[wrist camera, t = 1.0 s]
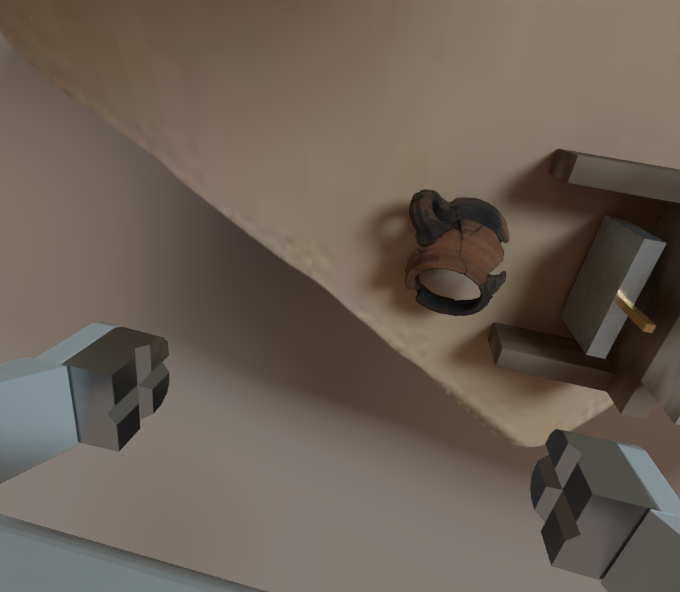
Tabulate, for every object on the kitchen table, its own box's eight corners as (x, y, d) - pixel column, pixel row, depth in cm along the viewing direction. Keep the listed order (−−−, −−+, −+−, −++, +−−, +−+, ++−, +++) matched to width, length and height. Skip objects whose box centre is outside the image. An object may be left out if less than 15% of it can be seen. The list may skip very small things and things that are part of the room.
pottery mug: (532, 243, 38) (522, 313, 34) (446, 268, 45) (429, 329, 41) (465, 144, 33) (443, 211, 29) (379, 189, 40) (351, 249, 36)
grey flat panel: (605, 215, 35) (675, 257, 25) (623, 218, 35) (701, 262, 25) (560, 315, 40) (605, 384, 30) (576, 318, 40) (627, 389, 30)
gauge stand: (558, 148, 34) (627, 170, 23) (710, 175, 33) (865, 212, 22) (488, 339, 43) (512, 426, 31) (607, 365, 42) (679, 466, 30)
